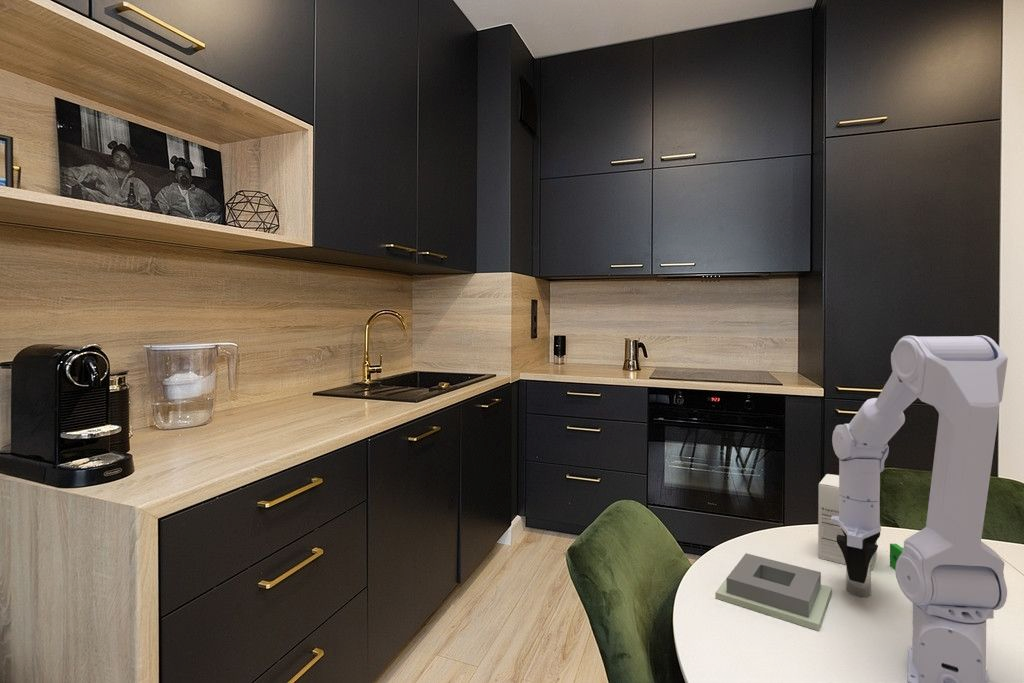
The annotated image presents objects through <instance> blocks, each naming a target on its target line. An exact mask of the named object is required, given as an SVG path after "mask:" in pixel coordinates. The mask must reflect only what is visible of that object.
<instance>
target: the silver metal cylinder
mask: <svg viewBox="0 0 1024 683" xmlns="http://www.w3.org/2000/svg"><path fill="white" fill-rule="evenodd" d="M845 581H846V582H845V590H846V591H845V592H847V593H848V594H849V595H851V596H853V597H857V598H861V599H863V598H864V599H868V598H870V597H871V596H872V571H871V560H870V563H869V567H868V572H867V577H866V580H865V583H859V582H856V581H852V580H850V579H849V576H848V572H847V568H846V567H845Z"/></svg>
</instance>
